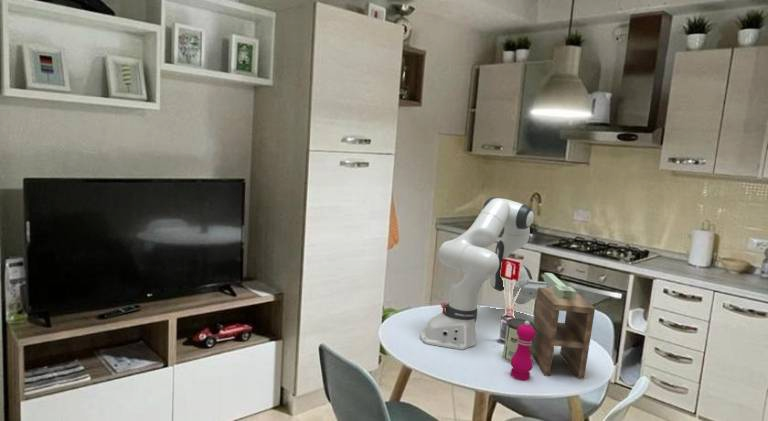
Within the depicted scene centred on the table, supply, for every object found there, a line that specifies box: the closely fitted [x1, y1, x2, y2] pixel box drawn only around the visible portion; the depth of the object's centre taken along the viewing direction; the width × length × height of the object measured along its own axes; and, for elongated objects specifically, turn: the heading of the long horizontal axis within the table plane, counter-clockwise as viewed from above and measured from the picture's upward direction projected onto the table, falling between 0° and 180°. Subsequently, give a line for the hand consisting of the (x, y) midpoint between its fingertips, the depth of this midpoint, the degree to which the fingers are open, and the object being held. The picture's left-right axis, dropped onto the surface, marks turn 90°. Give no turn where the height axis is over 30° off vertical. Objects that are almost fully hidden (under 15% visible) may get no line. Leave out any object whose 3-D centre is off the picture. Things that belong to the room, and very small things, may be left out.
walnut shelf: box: [531, 287, 596, 380], centre depth 188 cm, size 14×20×26 cm
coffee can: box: [502, 318, 535, 364], centre depth 191 cm, size 10×10×14 cm
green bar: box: [543, 272, 577, 300], centre depth 196 cm, size 6×24×3 cm, turn 179°
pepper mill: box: [510, 320, 535, 381], centre depth 177 cm, size 7×7×20 cm
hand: (538, 282), depth 219 cm, fingers open, 8 cm apart
